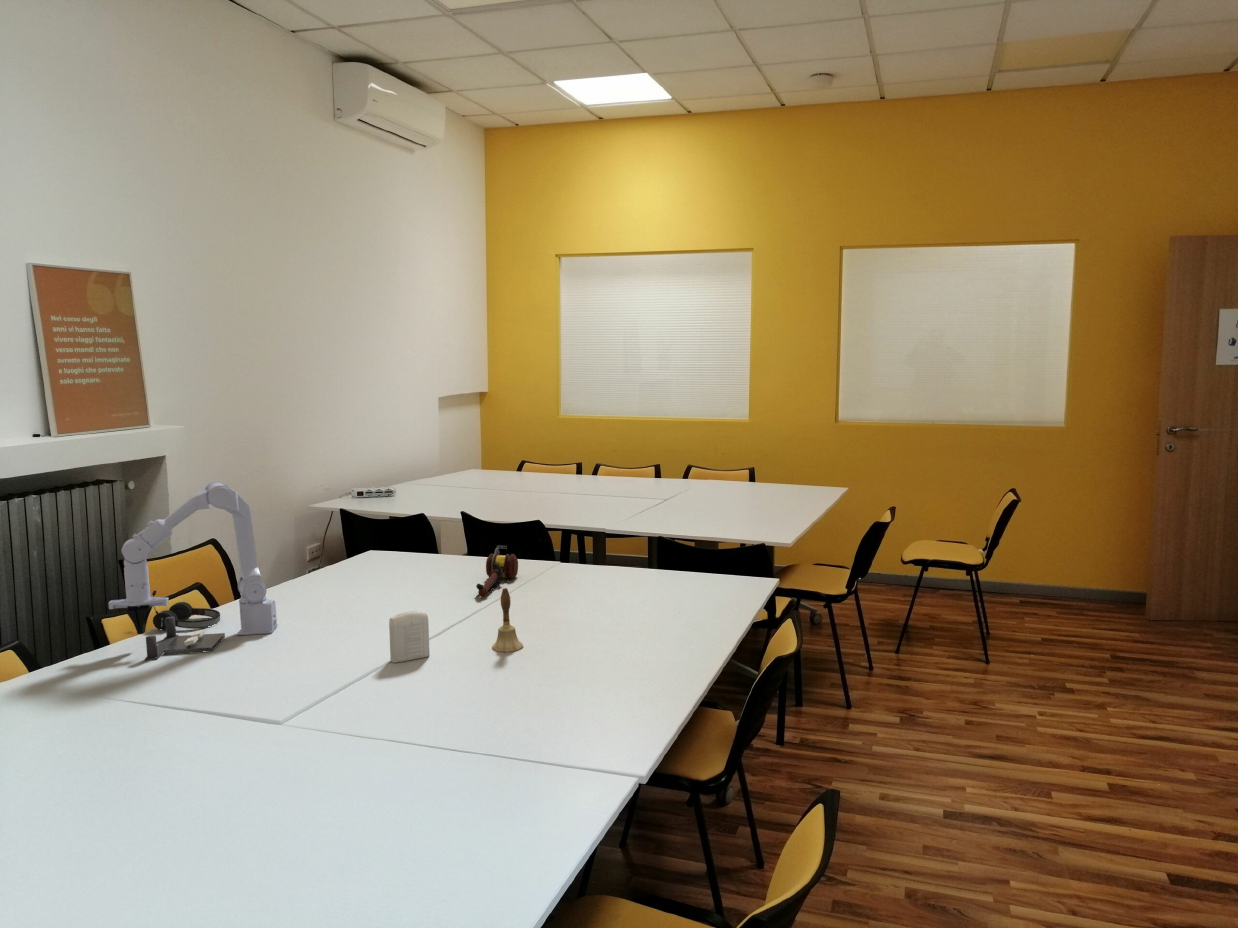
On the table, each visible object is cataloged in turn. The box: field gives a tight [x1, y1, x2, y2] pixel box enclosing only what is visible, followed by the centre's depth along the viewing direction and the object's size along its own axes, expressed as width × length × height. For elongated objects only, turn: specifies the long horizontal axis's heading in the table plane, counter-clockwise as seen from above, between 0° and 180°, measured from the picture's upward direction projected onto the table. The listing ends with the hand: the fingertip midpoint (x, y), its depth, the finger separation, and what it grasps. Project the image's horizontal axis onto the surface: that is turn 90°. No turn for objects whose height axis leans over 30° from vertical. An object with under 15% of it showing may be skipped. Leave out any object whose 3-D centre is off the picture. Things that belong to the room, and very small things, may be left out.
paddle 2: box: [190, 629, 206, 637], centre depth 254 cm, size 2×4×1 cm, turn 9°
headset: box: [151, 590, 221, 631], centre depth 272 cm, size 14×10×20 cm
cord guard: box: [144, 617, 180, 662], centre depth 250 cm, size 3×21×6 cm, turn 11°
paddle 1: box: [184, 636, 198, 646], centre depth 248 cm, size 2×4×1 cm, turn 9°
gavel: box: [475, 545, 519, 598], centre depth 311 cm, size 10×34×10 cm
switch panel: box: [163, 632, 226, 656], centre depth 251 cm, size 12×13×1 cm
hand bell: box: [491, 587, 524, 653], centre depth 244 cm, size 8×8×16 cm
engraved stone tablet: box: [388, 610, 430, 664], centre depth 237 cm, size 10×4×12 cm, turn 123°
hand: (141, 632), depth 249 cm, fingers closed
